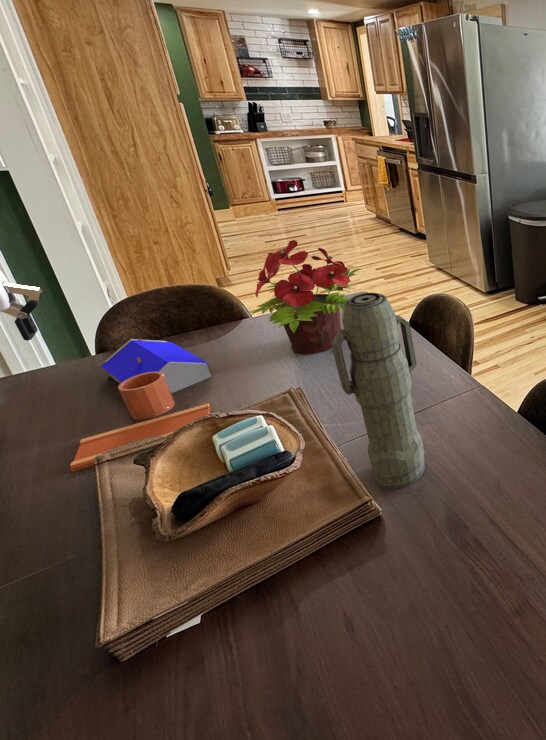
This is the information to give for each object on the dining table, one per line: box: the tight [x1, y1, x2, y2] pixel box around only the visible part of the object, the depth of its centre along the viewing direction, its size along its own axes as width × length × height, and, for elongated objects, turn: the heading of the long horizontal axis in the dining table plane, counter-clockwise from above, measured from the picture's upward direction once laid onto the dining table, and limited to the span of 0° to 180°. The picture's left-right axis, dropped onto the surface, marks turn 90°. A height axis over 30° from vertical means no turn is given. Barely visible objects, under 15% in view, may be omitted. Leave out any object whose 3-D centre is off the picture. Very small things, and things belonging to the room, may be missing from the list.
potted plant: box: [251, 239, 363, 355], centre depth 124 cm, size 30×27×30 cm
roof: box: [100, 338, 212, 394], centre depth 114 cm, size 22×14×7 cm, turn 60°
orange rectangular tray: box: [69, 402, 211, 473], centre depth 96 cm, size 20×10×1 cm, turn 126°
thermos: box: [331, 292, 426, 490], centre depth 80 cm, size 9×12×35 cm
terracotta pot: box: [117, 372, 176, 421], centre depth 102 cm, size 7×7×8 cm
